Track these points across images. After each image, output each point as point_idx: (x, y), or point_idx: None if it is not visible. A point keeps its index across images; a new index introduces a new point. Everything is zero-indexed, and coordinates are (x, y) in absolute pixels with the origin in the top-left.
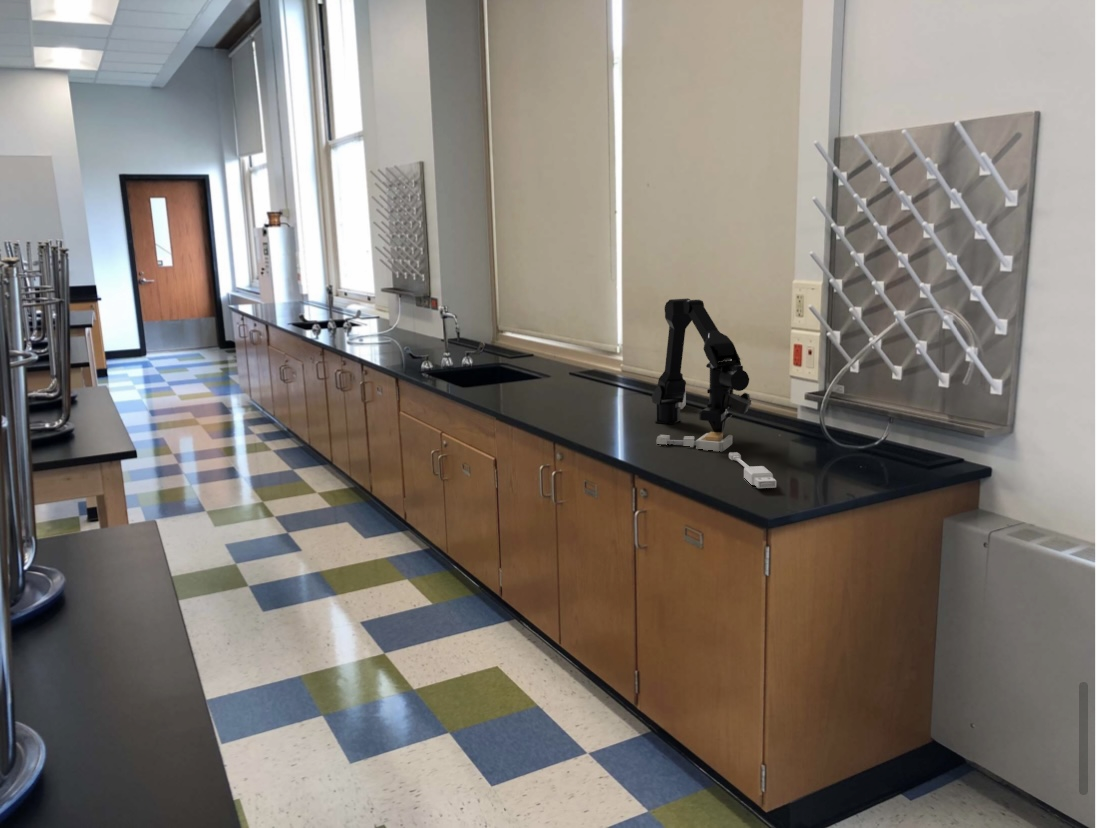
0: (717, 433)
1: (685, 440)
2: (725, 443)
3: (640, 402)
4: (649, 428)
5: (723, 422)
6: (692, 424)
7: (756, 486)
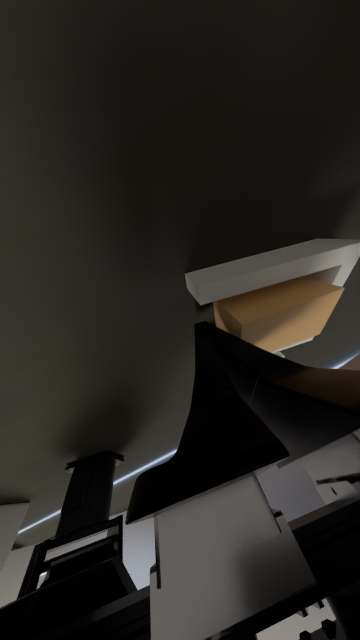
0: (266, 331)
1: None
2: (304, 251)
3: (35, 513)
4: (161, 441)
5: (293, 372)
6: (68, 448)
7: None
